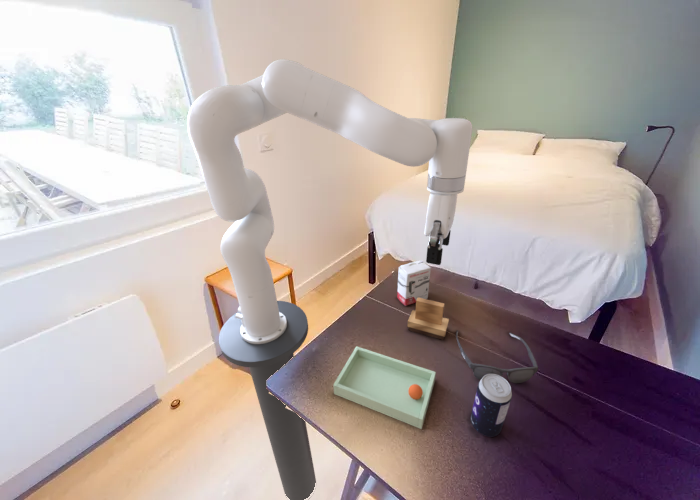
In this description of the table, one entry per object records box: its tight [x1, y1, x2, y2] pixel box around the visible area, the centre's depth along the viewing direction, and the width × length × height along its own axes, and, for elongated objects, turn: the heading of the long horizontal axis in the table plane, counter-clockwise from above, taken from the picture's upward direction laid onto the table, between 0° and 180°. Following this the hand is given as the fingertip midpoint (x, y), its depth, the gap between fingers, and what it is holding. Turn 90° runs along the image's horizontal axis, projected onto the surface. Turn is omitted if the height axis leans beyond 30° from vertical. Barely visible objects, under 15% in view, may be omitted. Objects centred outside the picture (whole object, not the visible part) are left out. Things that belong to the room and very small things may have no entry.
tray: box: [333, 345, 437, 430], centre depth 70 cm, size 20×12×3 cm, turn 65°
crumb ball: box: [408, 384, 423, 400], centre depth 67 cm, size 3×3×3 cm
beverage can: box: [470, 374, 513, 438], centre depth 59 cm, size 6×6×12 cm
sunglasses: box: [455, 330, 539, 384], centre depth 76 cm, size 16×17×5 cm
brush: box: [406, 297, 450, 341], centre depth 83 cm, size 10×5×10 cm, turn 65°
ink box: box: [396, 259, 432, 307], centre depth 95 cm, size 9×5×12 cm, turn 114°
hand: (437, 253), depth 74 cm, fingers open, 9 cm apart
